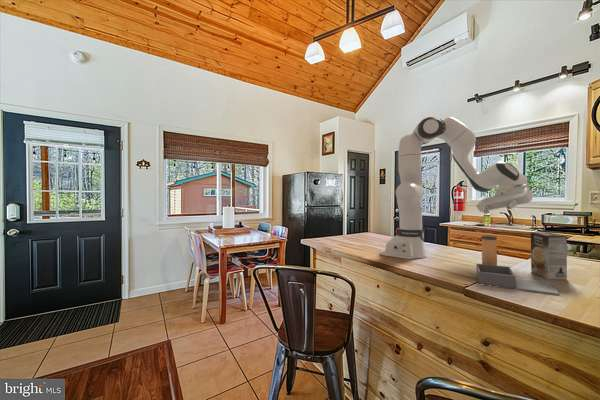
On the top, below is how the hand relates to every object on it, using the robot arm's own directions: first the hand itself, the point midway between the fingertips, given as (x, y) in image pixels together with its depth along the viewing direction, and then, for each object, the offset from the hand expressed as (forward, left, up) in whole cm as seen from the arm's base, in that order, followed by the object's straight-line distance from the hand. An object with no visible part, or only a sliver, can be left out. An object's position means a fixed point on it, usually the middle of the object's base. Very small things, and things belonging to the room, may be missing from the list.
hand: (496, 210), depth 108 cm
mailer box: (+2, -24, -25) cm, 34 cm away
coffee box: (+14, -7, -25) cm, 30 cm away
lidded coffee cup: (-4, -8, -25) cm, 26 cm away
